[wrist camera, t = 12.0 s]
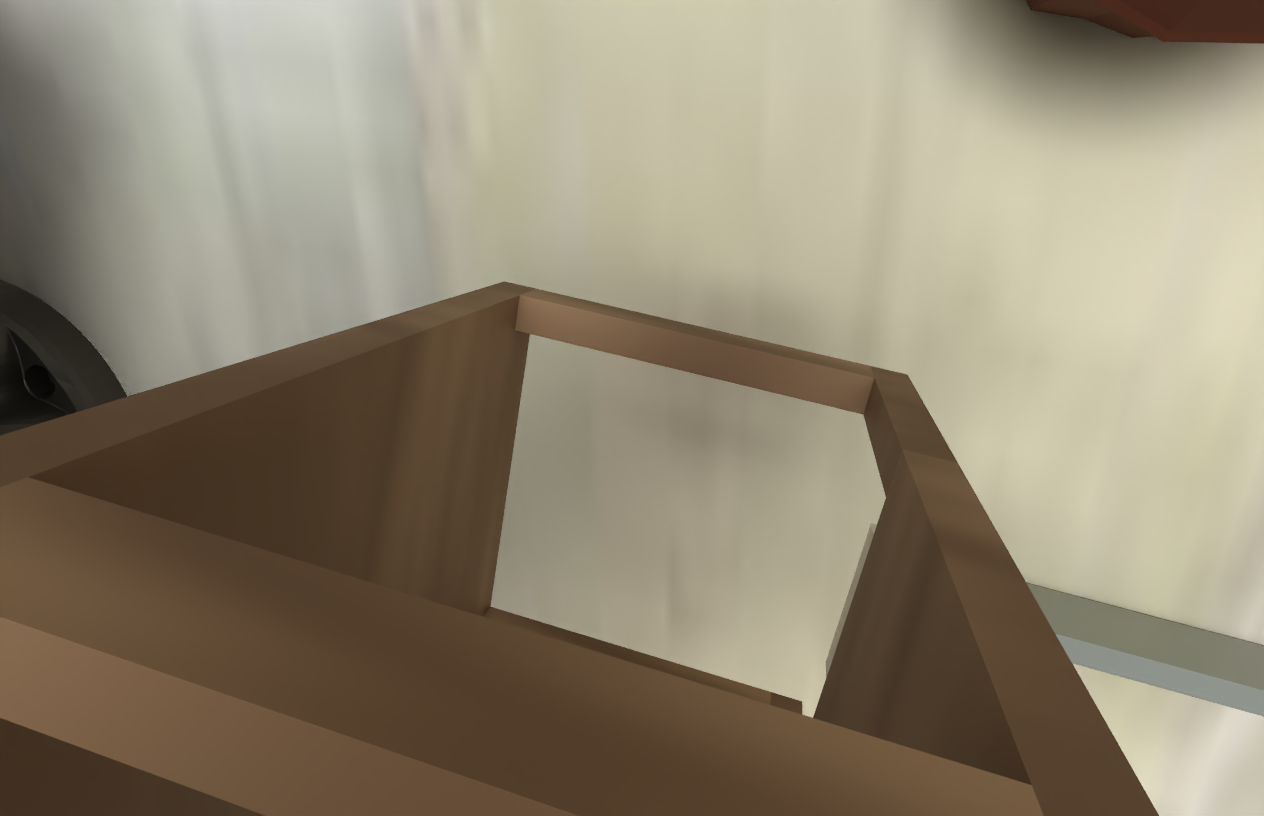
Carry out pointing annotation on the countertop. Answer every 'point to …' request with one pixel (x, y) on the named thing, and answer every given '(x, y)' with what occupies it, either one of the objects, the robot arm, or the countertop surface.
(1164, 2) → the muffin
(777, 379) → the open box frame
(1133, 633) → the u-shaped frame
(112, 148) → the countertop surface
